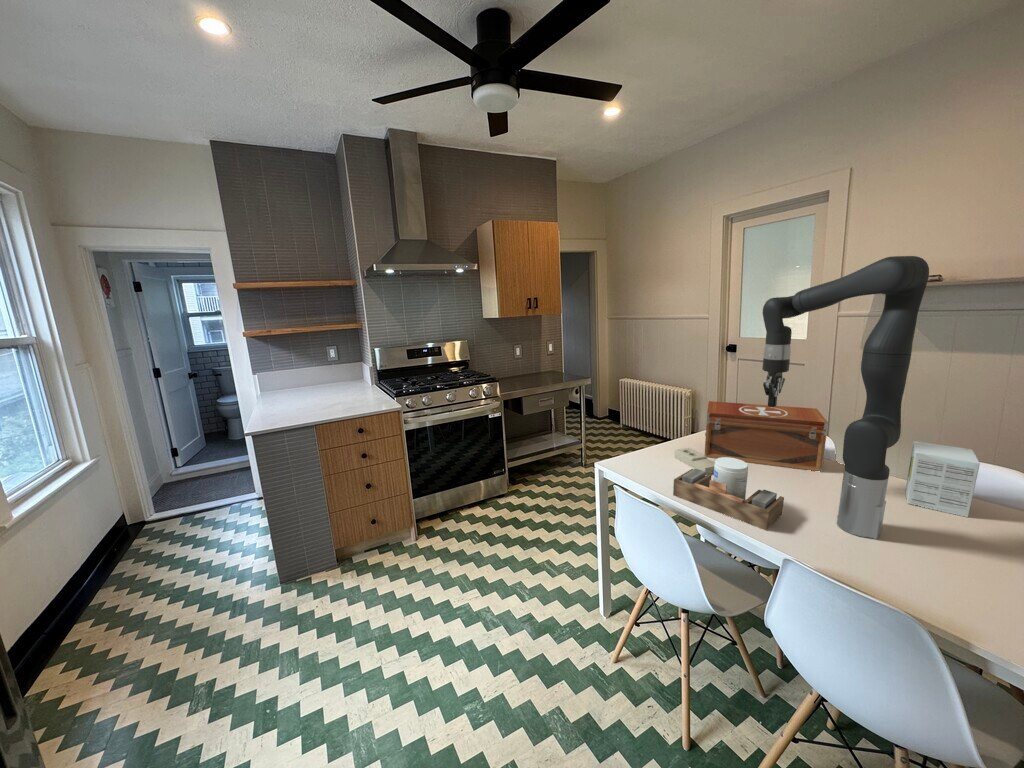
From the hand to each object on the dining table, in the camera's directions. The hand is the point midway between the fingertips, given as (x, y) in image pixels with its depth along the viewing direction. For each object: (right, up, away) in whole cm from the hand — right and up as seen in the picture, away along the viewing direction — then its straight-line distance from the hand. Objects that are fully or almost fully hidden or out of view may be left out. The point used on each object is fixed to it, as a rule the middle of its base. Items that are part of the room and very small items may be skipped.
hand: (771, 406), depth 134 cm
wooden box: (+14, -23, +30) cm, 41 cm away
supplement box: (+44, -30, -11) cm, 55 cm away
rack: (-20, -32, -7) cm, 38 cm away
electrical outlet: (-15, -26, +25) cm, 39 cm away
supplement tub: (-19, -32, -6) cm, 38 cm away
